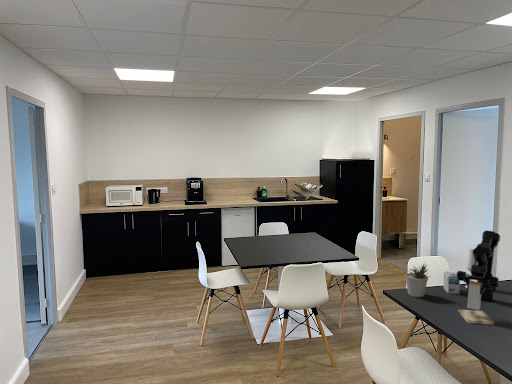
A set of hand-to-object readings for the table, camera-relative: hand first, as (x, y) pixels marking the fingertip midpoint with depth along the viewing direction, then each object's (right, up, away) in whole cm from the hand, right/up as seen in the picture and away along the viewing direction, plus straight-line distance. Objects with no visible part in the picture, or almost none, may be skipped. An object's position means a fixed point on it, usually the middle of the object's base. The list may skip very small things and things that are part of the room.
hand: (474, 293), depth 198 cm
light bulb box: (+10, -10, +43) cm, 45 cm away
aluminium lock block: (0, -8, +1) cm, 8 cm away
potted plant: (-15, -10, +34) cm, 39 cm away
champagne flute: (+26, -9, +50) cm, 57 cm away
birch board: (+1, -13, +2) cm, 13 cm away
